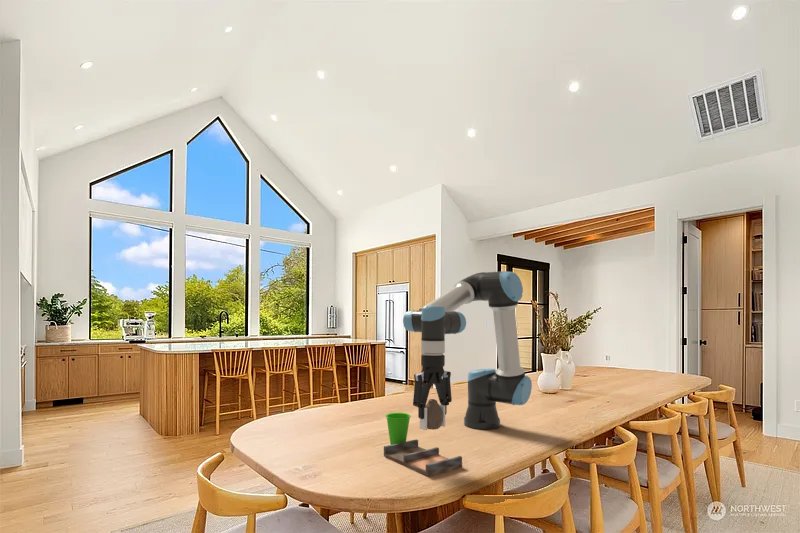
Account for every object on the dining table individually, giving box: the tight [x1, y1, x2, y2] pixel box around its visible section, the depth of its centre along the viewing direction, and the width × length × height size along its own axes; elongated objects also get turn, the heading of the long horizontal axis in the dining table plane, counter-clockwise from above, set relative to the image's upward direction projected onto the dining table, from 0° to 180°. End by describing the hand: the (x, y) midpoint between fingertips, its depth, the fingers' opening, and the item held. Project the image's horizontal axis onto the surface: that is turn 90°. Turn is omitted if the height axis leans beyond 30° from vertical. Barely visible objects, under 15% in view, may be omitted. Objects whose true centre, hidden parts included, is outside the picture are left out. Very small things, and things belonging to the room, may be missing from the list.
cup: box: [385, 412, 412, 445], centre depth 169 cm, size 9×9×11 cm
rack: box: [383, 438, 463, 478], centre depth 154 cm, size 14×23×3 cm, turn 37°
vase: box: [425, 398, 444, 431], centre depth 150 cm, size 7×7×9 cm
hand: (432, 427), depth 150 cm, fingers closed on vase, 7 cm apart
